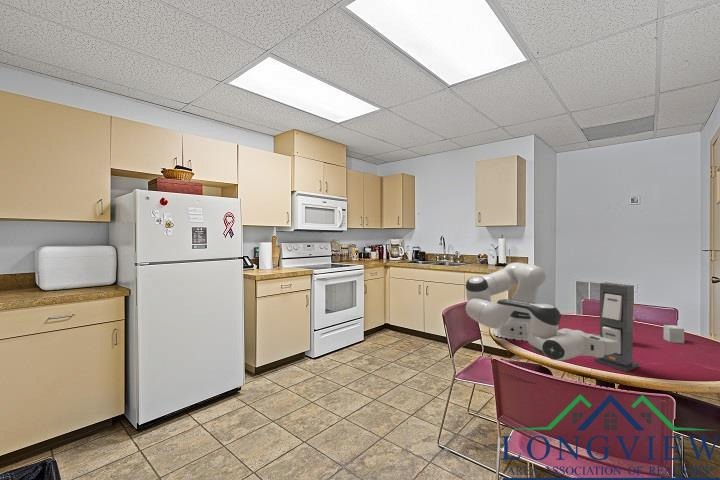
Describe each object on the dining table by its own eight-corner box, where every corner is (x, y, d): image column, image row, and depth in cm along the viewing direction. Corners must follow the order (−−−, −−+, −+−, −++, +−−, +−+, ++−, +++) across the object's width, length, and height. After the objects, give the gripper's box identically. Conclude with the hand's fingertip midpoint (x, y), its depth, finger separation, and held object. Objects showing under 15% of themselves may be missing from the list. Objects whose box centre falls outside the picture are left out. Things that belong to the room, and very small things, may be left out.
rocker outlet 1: (620, 354, 138) (618, 331, 137) (604, 349, 144) (601, 327, 142) (622, 352, 139) (620, 329, 138) (606, 348, 145) (604, 326, 143)
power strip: (627, 372, 135) (628, 287, 134) (594, 361, 146) (595, 283, 145) (639, 366, 140) (640, 285, 139) (606, 357, 151) (607, 281, 150)
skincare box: (684, 343, 167) (684, 328, 167) (669, 342, 169) (669, 327, 169) (677, 339, 173) (677, 325, 173) (662, 338, 175) (663, 324, 175)
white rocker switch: (618, 320, 137) (621, 295, 138) (601, 316, 142) (604, 293, 143) (620, 320, 138) (623, 296, 139) (604, 317, 143) (607, 293, 144)
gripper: (550, 342, 137) (570, 337, 144) (606, 359, 119) (626, 352, 126) (550, 327, 137) (570, 322, 144) (607, 341, 119) (626, 335, 126)
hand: (596, 336), depth 135 cm, fingers closed
